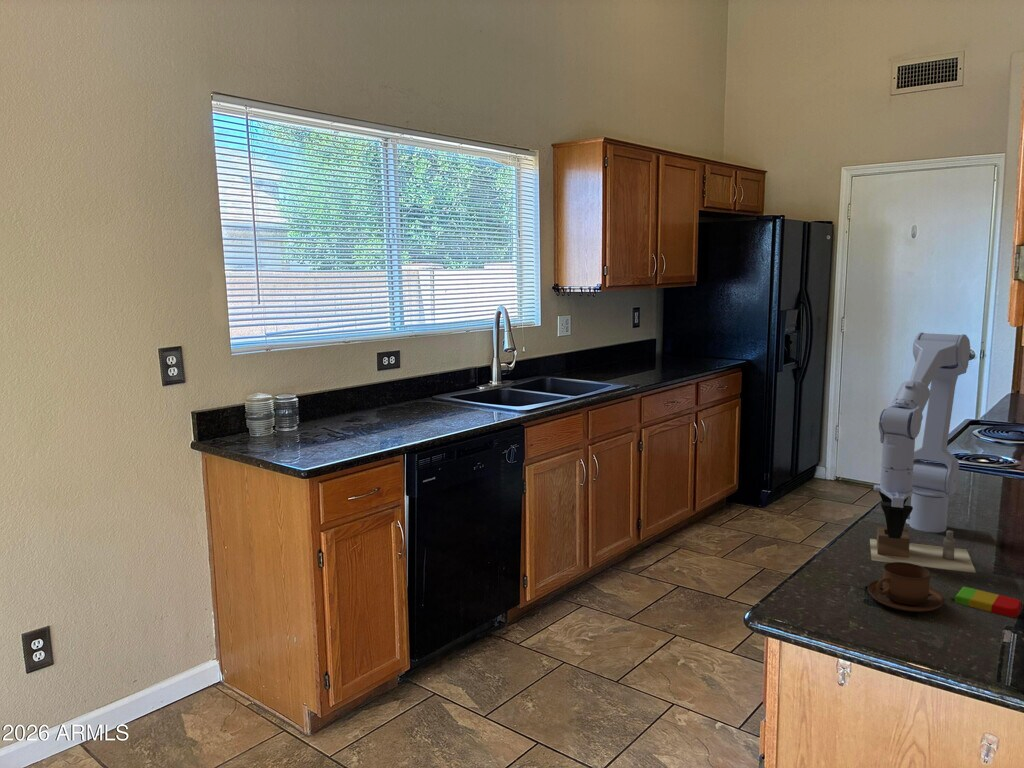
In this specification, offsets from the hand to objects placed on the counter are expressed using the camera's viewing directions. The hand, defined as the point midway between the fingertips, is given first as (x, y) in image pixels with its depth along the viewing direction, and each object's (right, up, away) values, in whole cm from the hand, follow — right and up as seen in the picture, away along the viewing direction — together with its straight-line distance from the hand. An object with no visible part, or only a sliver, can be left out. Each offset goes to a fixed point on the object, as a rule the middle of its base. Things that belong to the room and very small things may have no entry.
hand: (893, 531), depth 155 cm
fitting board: (+5, -5, -1) cm, 7 cm away
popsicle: (+4, -9, -20) cm, 22 cm away
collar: (0, -4, +1) cm, 4 cm away
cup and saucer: (-8, -9, -20) cm, 24 cm away
